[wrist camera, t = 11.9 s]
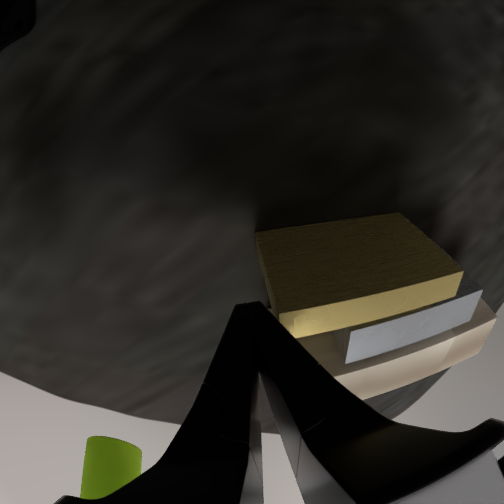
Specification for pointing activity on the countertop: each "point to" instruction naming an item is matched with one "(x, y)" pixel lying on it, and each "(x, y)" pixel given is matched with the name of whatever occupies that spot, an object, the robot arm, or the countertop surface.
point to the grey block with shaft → (409, 324)
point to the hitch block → (402, 356)
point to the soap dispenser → (108, 466)
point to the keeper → (352, 272)
